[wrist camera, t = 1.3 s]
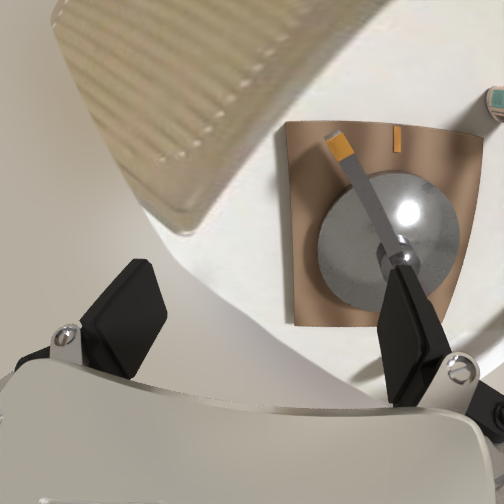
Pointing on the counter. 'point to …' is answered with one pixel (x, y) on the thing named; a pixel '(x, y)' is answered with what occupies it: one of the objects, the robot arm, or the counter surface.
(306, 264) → the dial base
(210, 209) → the counter surface
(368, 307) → the dial
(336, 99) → the counter surface
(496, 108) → the pill bottle
